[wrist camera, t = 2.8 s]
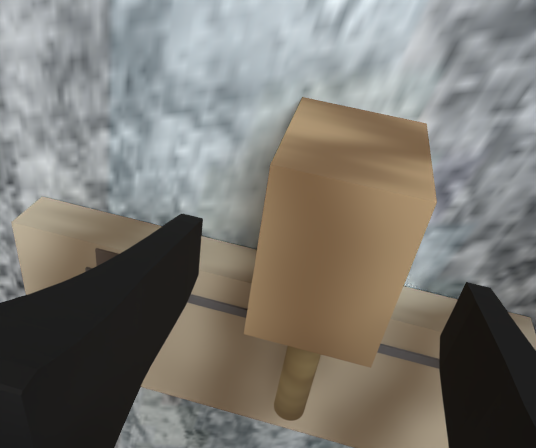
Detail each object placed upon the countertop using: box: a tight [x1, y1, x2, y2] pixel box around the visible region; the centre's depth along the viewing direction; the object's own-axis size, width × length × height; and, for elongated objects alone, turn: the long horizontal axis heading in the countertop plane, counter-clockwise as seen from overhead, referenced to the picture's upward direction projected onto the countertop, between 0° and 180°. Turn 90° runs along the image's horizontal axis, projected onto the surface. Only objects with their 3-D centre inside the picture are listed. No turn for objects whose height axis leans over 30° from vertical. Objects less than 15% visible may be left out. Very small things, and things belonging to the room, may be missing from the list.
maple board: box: [12, 197, 536, 448], centre depth 21 cm, size 20×8×2 cm, turn 82°
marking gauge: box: [244, 97, 437, 421], centre depth 17 cm, size 4×11×5 cm, turn 172°
